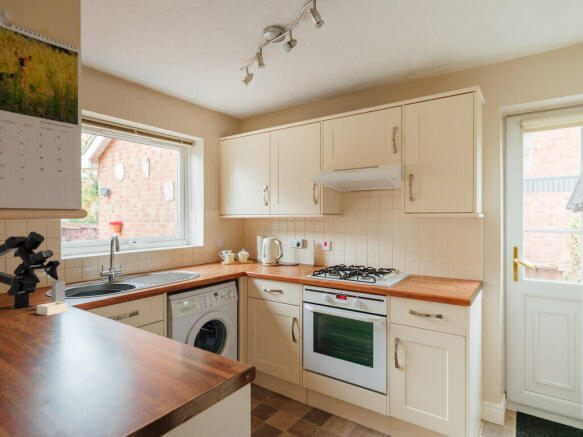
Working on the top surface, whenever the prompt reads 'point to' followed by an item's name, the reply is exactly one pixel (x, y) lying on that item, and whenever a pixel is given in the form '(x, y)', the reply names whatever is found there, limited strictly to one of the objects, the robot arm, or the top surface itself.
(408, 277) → the top surface
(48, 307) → the cream square block
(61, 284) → the grey rectangular block
